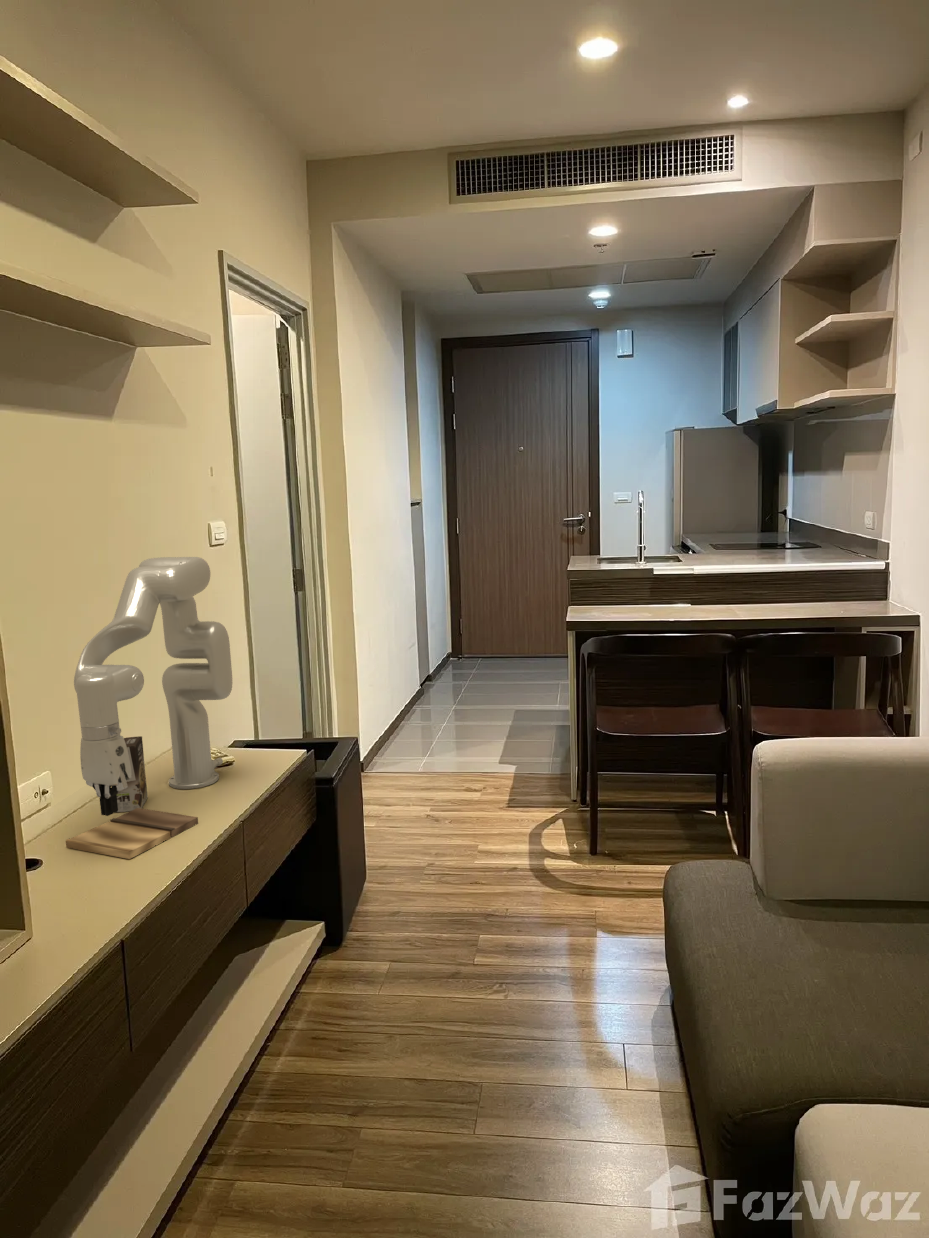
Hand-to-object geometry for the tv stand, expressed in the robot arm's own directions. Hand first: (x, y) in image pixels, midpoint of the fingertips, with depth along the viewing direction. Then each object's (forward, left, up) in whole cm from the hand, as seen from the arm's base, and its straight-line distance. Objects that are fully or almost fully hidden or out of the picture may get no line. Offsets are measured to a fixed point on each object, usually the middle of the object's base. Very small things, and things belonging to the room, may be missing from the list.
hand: (109, 813), depth 188 cm
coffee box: (-21, -15, -8) cm, 27 cm away
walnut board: (-12, 0, -7) cm, 14 cm away
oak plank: (-2, 0, -7) cm, 7 cm away
